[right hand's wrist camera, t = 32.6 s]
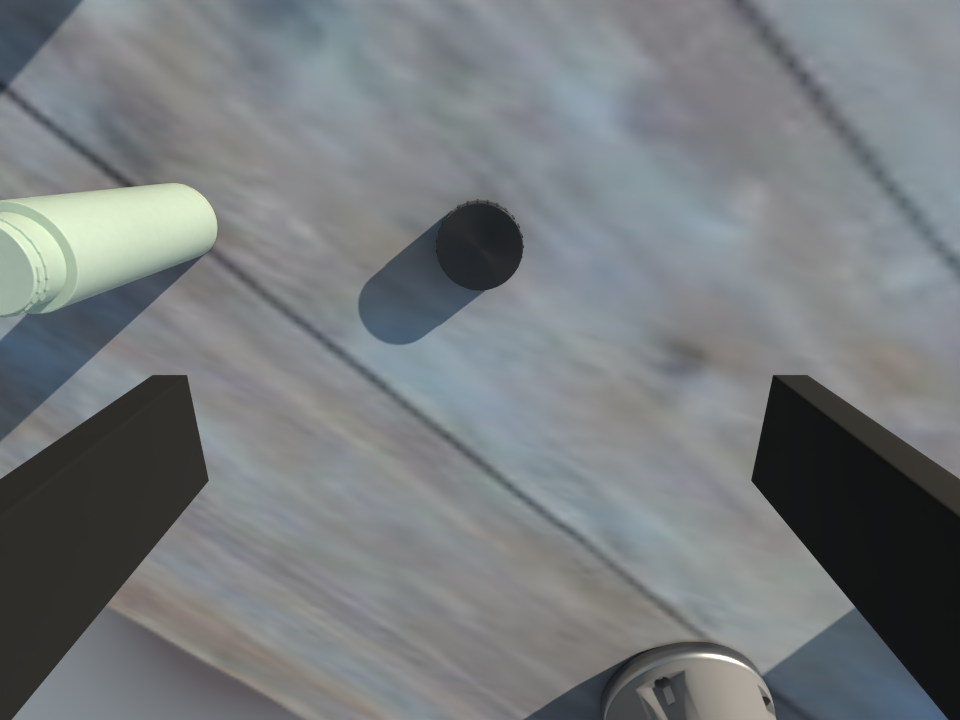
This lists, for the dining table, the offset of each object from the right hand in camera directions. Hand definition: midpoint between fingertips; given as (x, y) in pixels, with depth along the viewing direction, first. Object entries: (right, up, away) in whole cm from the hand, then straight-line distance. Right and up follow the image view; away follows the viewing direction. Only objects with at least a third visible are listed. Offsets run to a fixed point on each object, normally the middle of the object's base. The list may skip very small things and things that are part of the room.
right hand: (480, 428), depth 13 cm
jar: (-20, +11, +23) cm, 32 cm away
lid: (0, +9, +22) cm, 24 cm away
